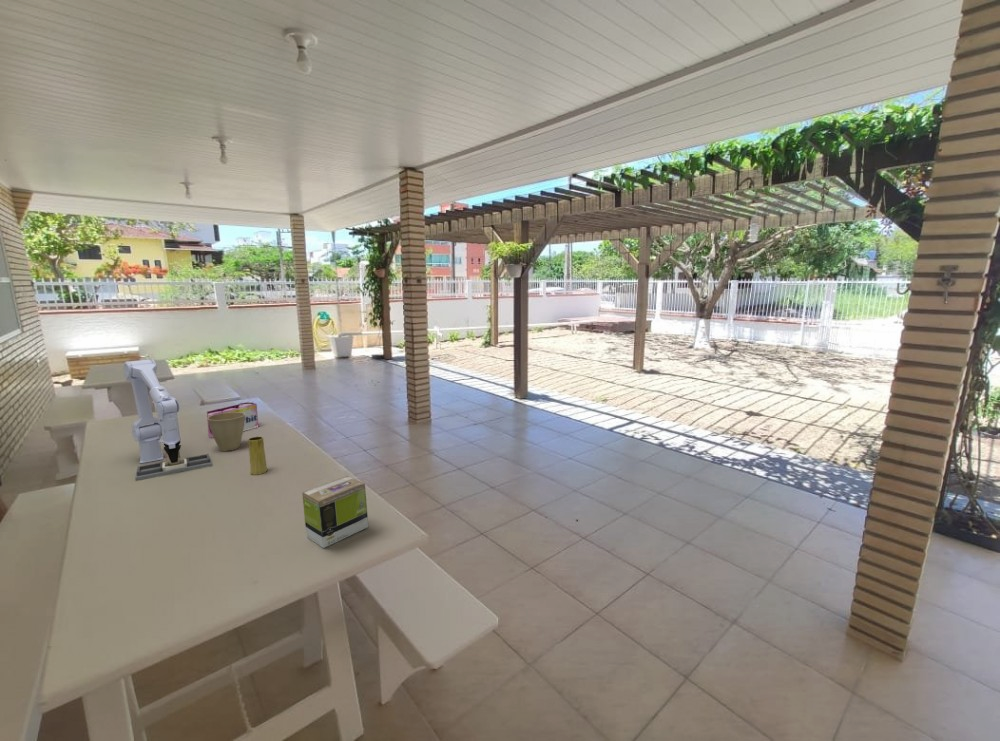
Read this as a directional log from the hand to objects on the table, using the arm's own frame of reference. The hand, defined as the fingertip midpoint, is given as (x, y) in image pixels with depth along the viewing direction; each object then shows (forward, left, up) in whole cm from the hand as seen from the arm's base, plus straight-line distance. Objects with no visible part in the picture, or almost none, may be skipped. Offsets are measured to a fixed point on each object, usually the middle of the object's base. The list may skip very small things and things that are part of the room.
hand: (174, 460), depth 180 cm
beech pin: (0, 0, -2) cm, 2 cm away
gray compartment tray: (0, 0, -4) cm, 4 cm away
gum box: (-43, +26, -4) cm, 51 cm away
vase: (+25, +27, -4) cm, 37 cm away
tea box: (+92, +38, -4) cm, 100 cm away
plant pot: (-15, +21, -4) cm, 26 cm away
